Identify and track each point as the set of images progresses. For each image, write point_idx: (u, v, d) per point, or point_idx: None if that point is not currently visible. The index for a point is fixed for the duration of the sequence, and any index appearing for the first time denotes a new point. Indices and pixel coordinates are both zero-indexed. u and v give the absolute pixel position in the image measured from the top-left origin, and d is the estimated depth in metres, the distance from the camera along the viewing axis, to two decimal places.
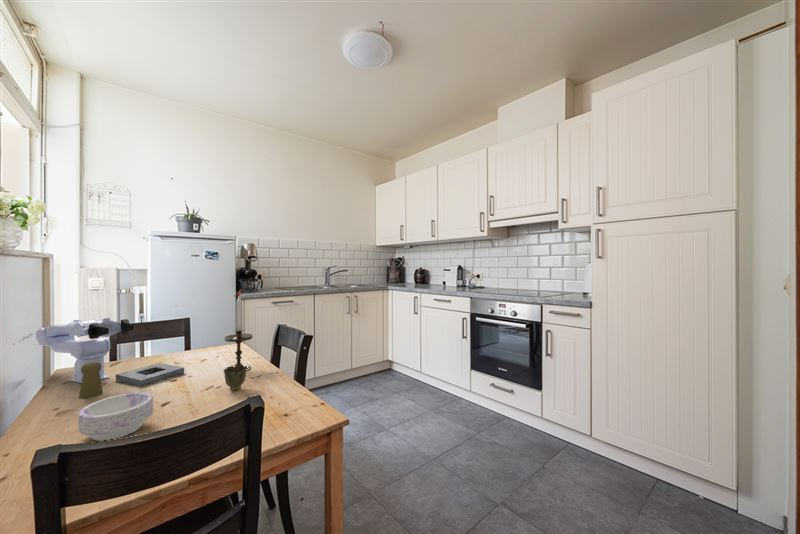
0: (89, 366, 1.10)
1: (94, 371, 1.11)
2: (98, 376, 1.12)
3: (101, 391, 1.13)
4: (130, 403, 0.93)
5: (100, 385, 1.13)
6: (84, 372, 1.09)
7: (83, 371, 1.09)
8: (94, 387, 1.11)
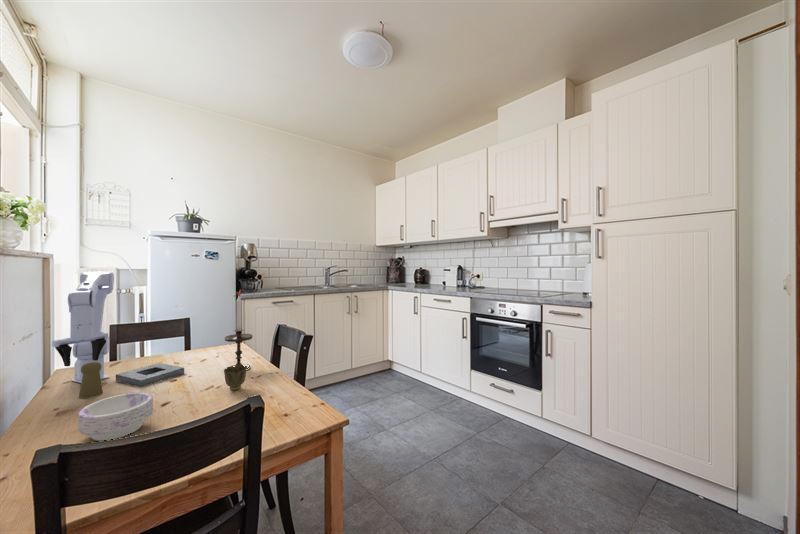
0: (89, 366, 1.10)
1: (94, 371, 1.11)
2: (98, 376, 1.12)
3: (101, 391, 1.13)
4: (130, 403, 0.93)
5: (100, 385, 1.13)
6: (84, 372, 1.09)
7: (83, 371, 1.09)
8: (94, 387, 1.11)
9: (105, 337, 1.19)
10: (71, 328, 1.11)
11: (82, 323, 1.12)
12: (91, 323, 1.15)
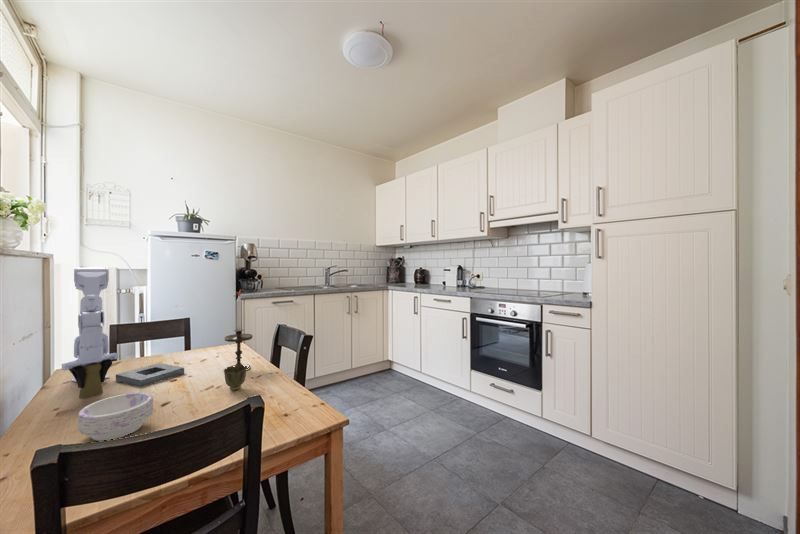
0: (89, 366, 1.10)
1: (94, 371, 1.11)
2: (98, 376, 1.12)
3: (101, 391, 1.13)
4: (130, 403, 0.93)
5: (100, 385, 1.13)
6: None
7: None
8: (94, 387, 1.11)
9: (114, 357, 1.17)
10: (80, 350, 1.09)
11: (93, 345, 1.10)
12: (101, 344, 1.13)
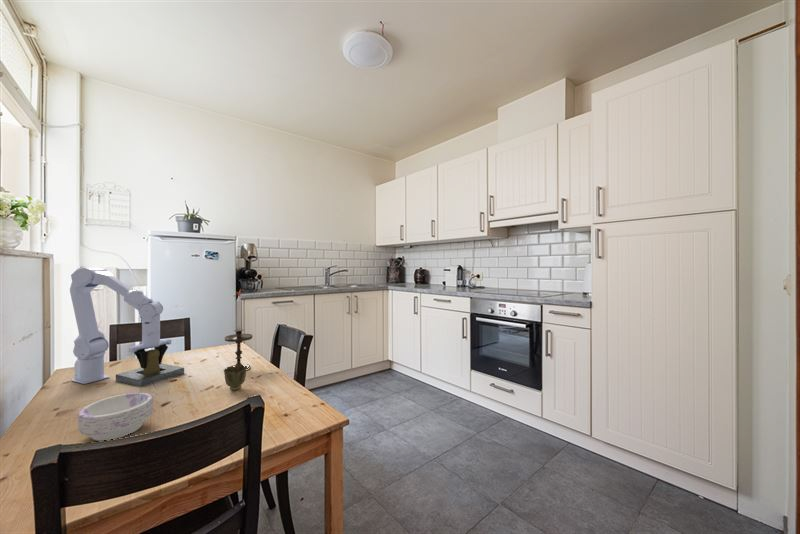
0: (150, 352, 1.27)
1: (155, 357, 1.28)
2: (157, 361, 1.30)
3: None
4: (130, 403, 0.93)
5: (159, 369, 1.30)
6: None
7: None
8: (155, 371, 1.28)
9: (169, 343, 1.35)
10: (143, 335, 1.27)
11: (159, 330, 1.30)
12: None
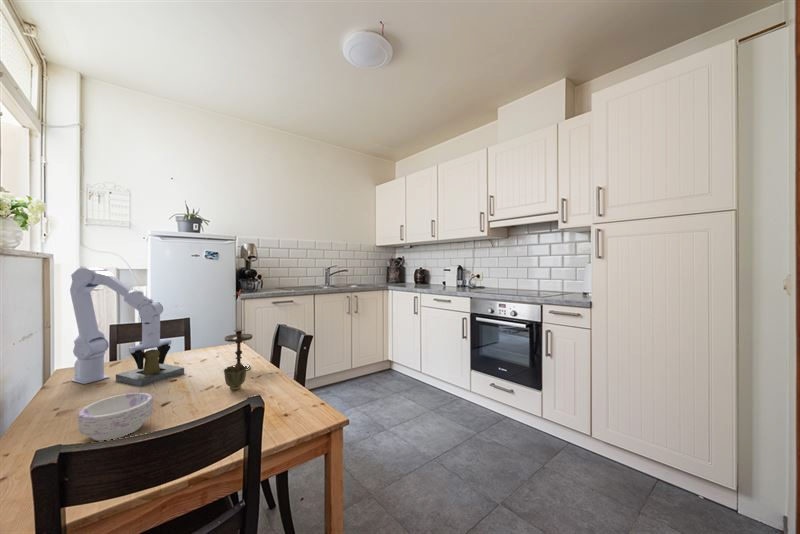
0: (150, 352, 1.27)
1: (155, 357, 1.28)
2: (157, 361, 1.30)
3: None
4: (130, 403, 0.93)
5: (159, 369, 1.30)
6: (146, 357, 1.27)
7: (145, 357, 1.27)
8: (155, 371, 1.28)
9: (169, 343, 1.35)
10: (143, 336, 1.27)
11: (159, 330, 1.30)
12: None
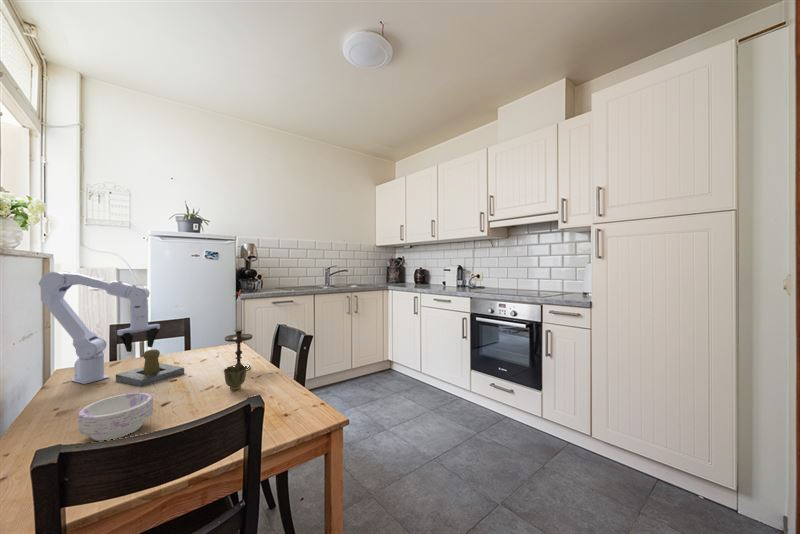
0: (150, 352, 1.27)
1: (155, 357, 1.28)
2: (157, 361, 1.30)
3: None
4: (130, 403, 0.93)
5: (159, 369, 1.30)
6: (146, 357, 1.27)
7: (145, 357, 1.27)
8: (155, 371, 1.28)
9: (157, 327, 1.38)
10: (131, 319, 1.30)
11: None
12: None
